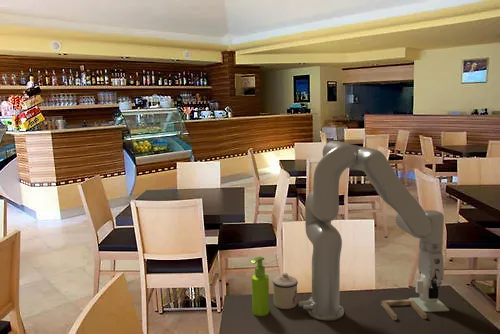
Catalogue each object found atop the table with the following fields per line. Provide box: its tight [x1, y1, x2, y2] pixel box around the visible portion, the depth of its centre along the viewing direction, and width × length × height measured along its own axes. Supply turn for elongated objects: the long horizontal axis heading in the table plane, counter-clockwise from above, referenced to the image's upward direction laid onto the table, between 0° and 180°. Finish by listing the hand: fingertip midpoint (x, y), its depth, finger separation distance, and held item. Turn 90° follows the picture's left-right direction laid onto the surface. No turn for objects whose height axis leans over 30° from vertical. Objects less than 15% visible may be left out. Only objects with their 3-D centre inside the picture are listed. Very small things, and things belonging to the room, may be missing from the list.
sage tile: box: [408, 297, 450, 313], centre depth 149 cm, size 10×10×1 cm
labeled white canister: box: [415, 273, 439, 303], centre depth 148 cm, size 6×8×9 cm
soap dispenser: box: [250, 256, 270, 317], centre depth 145 cm, size 6×7×20 cm
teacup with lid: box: [272, 272, 299, 310], centre depth 153 cm, size 12×9×12 cm
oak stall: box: [380, 298, 428, 321], centre depth 144 cm, size 11×11×2 cm
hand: (428, 293), depth 148 cm, fingers closed on labeled white canister, 5 cm apart
